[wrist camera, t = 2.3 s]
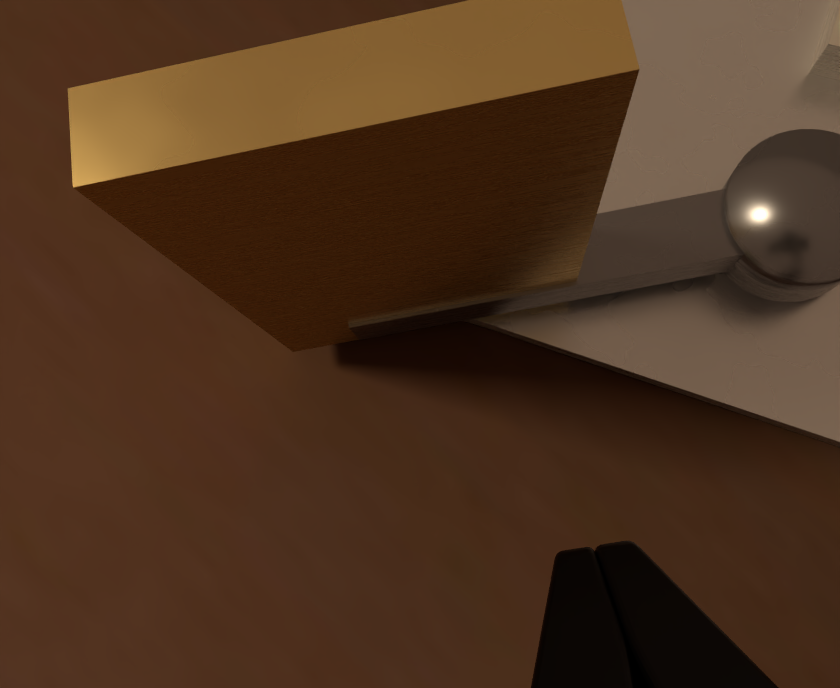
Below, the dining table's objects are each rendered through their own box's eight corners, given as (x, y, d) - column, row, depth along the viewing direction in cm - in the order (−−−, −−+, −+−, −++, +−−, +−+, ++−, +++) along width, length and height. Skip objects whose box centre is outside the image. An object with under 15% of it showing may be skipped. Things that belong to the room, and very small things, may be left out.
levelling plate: (988, 13, 22) (1059, -60, 19) (871, 458, 20) (932, 449, 17) (539, -87, 25) (542, -164, 22) (387, 295, 22) (370, 263, 19)
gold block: (836, 151, 21) (1190, -237, 10) (880, 286, 20) (1325, 16, 9) (281, 260, 22) (64, 18, 11) (297, 392, 21) (76, 266, 10)
